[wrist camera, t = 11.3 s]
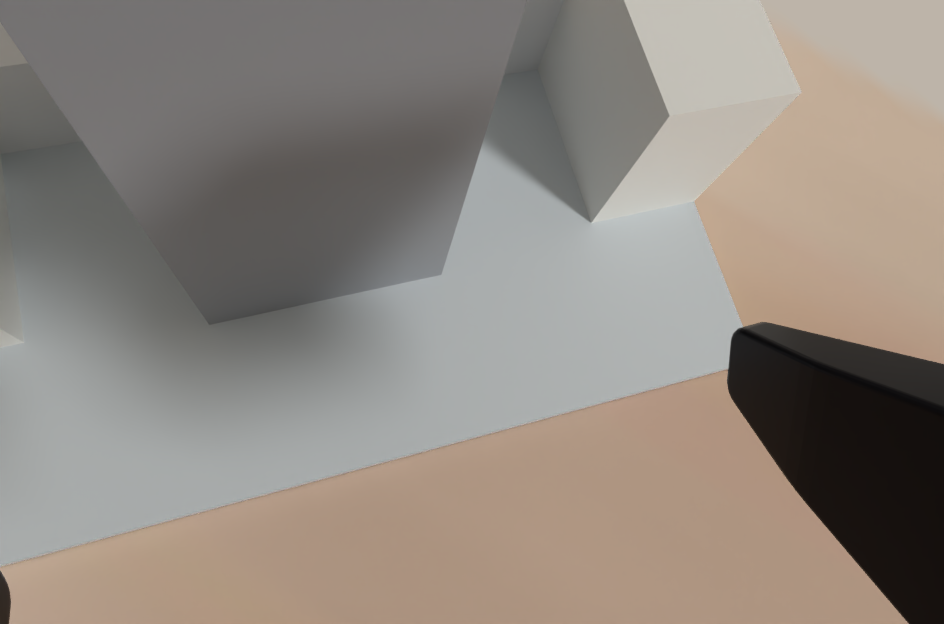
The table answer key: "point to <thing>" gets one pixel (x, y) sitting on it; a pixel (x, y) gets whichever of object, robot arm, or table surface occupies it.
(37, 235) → the rail plate
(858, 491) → the robot arm
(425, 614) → the table surface
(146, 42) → the module
